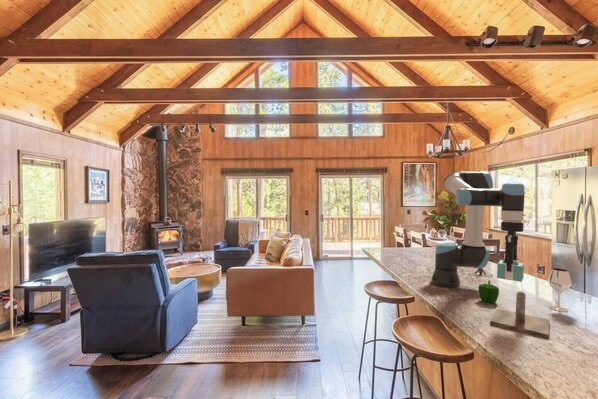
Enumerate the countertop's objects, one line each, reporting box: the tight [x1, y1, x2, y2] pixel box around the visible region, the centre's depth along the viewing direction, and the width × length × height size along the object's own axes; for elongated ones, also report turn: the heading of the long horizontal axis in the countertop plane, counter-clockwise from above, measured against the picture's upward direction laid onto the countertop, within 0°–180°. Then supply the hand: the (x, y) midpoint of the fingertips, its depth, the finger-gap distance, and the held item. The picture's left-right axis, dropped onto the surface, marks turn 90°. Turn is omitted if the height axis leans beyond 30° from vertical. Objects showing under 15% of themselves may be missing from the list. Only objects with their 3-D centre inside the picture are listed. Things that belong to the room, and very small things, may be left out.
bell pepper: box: [478, 279, 500, 304], centre depth 150 cm, size 8×8×10 cm
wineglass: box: [547, 267, 573, 313], centre depth 142 cm, size 8×8×18 cm
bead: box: [496, 260, 525, 283], centre depth 126 cm, size 8×8×6 cm
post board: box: [489, 291, 550, 340], centre depth 124 cm, size 18×18×13 cm
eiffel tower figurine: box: [468, 268, 494, 278], centre depth 203 cm, size 15×10×13 cm
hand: (510, 277), depth 126 cm, fingers closed on bead, 8 cm apart
